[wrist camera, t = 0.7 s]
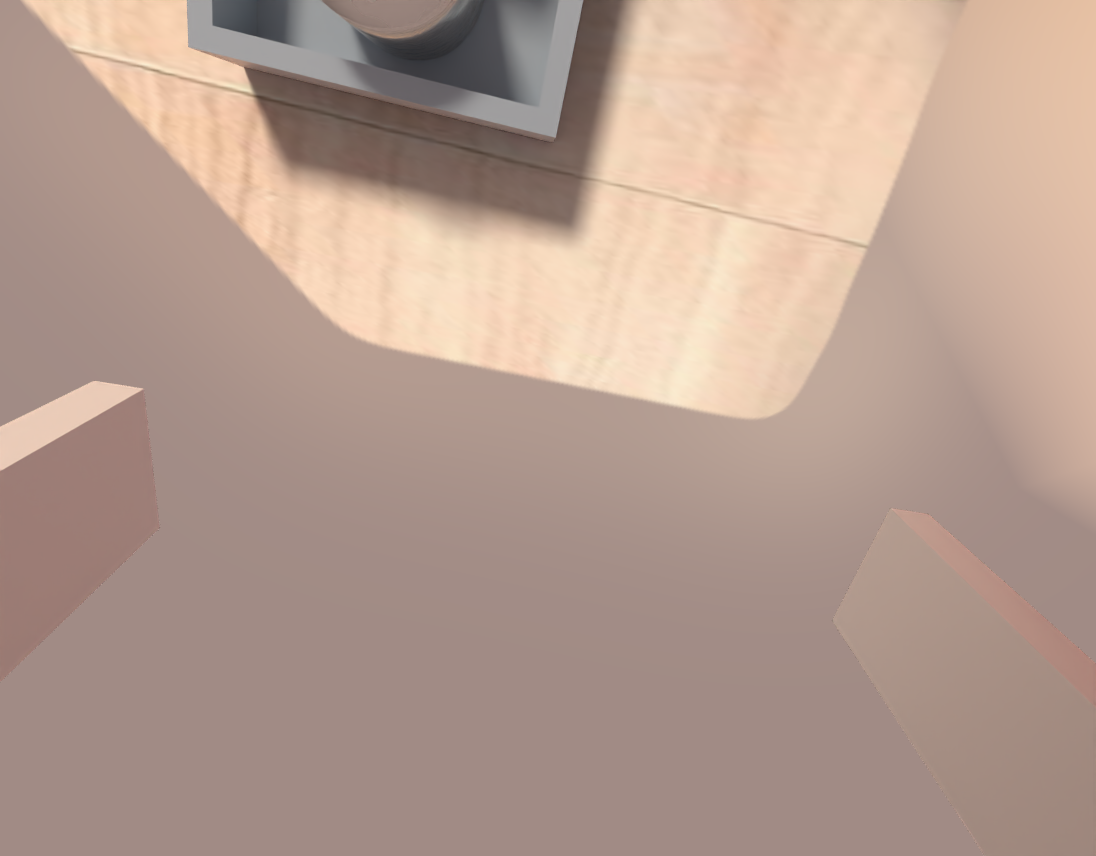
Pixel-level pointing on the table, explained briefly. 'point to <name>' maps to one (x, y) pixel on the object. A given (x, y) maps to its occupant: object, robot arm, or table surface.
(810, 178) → the table surface
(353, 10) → the metal tin
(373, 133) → the table surface
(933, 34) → the table surface
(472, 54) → the crate
